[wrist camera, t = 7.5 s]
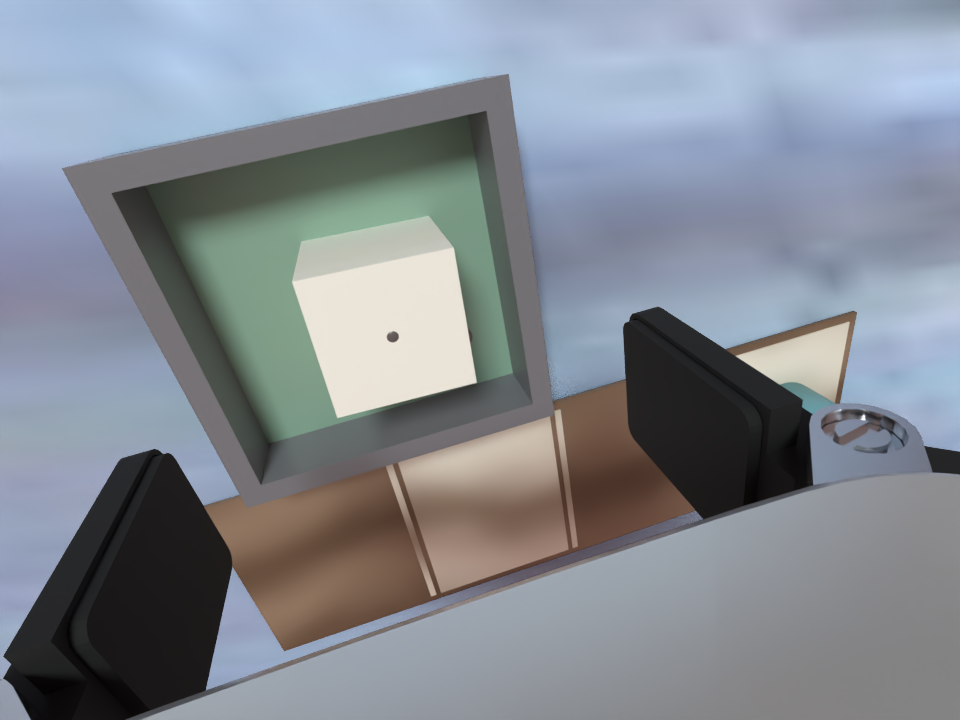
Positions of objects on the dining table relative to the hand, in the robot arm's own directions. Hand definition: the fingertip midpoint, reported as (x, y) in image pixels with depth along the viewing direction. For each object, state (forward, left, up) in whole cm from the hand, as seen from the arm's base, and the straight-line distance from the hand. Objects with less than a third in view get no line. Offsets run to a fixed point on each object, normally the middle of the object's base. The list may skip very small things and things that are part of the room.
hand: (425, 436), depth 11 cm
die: (0, 0, -10) cm, 10 cm away
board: (+13, +6, -10) cm, 17 cm away
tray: (0, -1, -10) cm, 10 cm away
